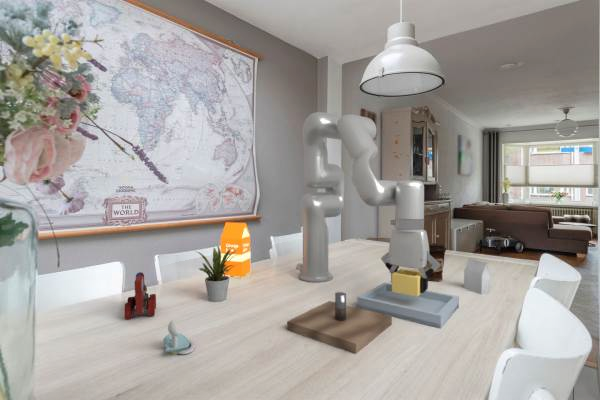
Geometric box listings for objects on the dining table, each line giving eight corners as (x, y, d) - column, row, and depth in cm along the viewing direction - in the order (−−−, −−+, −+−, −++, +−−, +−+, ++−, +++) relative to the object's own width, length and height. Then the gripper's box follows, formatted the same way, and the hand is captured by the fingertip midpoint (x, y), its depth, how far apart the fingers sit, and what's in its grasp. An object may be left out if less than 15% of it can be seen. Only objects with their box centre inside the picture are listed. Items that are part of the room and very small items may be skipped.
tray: (357, 307, 91) (357, 297, 91) (384, 291, 105) (384, 282, 105) (440, 328, 77) (440, 315, 77) (458, 307, 92) (458, 296, 92)
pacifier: (191, 340, 72) (161, 345, 69) (192, 311, 72) (162, 316, 69) (198, 355, 66) (166, 361, 63) (199, 323, 65) (167, 329, 62)
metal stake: (332, 319, 78) (333, 294, 78) (338, 315, 80) (338, 291, 80) (342, 321, 76) (342, 296, 76) (348, 318, 78) (348, 293, 78)
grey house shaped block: (481, 294, 103) (482, 262, 103) (463, 288, 109) (464, 258, 109) (490, 293, 104) (490, 261, 104) (472, 287, 111) (472, 257, 110)
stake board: (287, 329, 77) (287, 321, 77) (329, 307, 91) (329, 300, 91) (355, 353, 66) (356, 343, 65) (391, 324, 80) (391, 316, 80)
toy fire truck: (156, 304, 94) (156, 268, 94) (154, 320, 82) (153, 279, 82) (129, 307, 91) (128, 270, 91) (123, 324, 80) (122, 281, 79)
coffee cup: (448, 283, 115) (449, 246, 114) (423, 282, 116) (423, 245, 116) (442, 276, 123) (443, 242, 123) (419, 275, 125) (419, 241, 125)
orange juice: (241, 277, 122) (241, 224, 121) (220, 276, 124) (220, 223, 124) (250, 272, 129) (250, 222, 129) (230, 271, 132) (230, 221, 131)
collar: (391, 291, 90) (391, 273, 90) (401, 285, 96) (401, 268, 96) (417, 296, 86) (417, 277, 86) (425, 290, 92) (426, 272, 91)
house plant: (254, 299, 98) (254, 244, 97) (214, 311, 88) (214, 251, 87) (227, 289, 108) (226, 239, 107) (187, 299, 97) (187, 244, 97)
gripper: (374, 224, 93) (374, 286, 93) (438, 228, 82) (438, 299, 83) (385, 222, 99) (385, 281, 99) (446, 226, 88) (445, 291, 89)
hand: (409, 288), depth 91 cm, fingers closed on collar, 7 cm apart
